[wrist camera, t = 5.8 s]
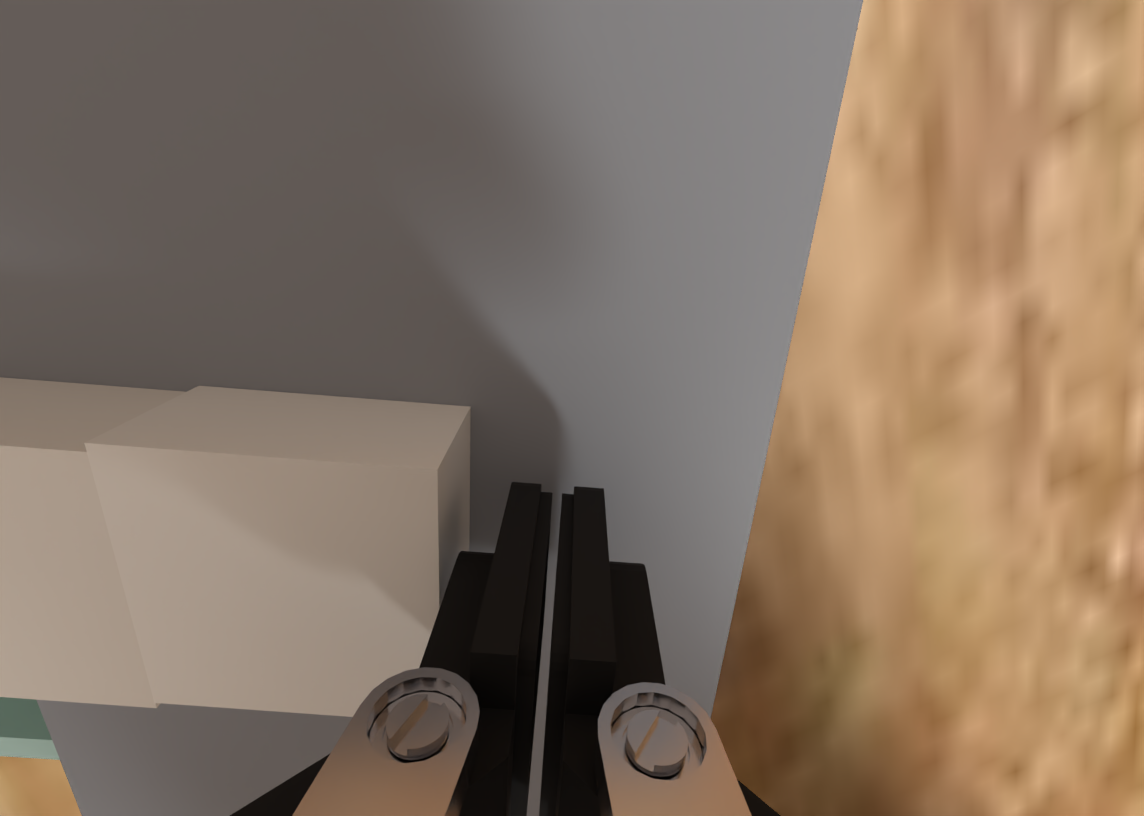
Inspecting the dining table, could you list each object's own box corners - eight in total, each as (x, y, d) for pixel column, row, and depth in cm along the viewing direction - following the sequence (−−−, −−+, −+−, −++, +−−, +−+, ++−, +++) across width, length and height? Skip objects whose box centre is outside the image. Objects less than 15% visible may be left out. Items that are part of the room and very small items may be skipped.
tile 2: (470, 406, 10) (437, 469, 8) (468, 620, 12) (440, 722, 10) (198, 385, 10) (84, 442, 8) (237, 603, 12) (154, 702, 10)
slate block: (766, 25, 12) (880, -78, 8) (658, 696, 19) (681, 854, 15) (38, -25, 12) (-303, -162, 7) (202, 667, 19) (82, 817, 15)
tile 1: (200, 392, 10) (87, 452, 8) (239, 608, 12) (156, 708, 10) (-73, 371, 10) (-267, 424, 8) (7, 591, 12) (-131, 687, 10)
